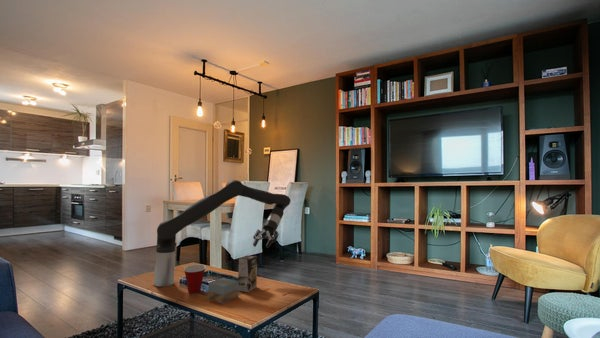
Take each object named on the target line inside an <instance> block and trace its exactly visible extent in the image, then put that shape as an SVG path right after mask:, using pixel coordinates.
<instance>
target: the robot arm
mask: <svg viewBox="0 0 600 338" xmlns="http://www.w3.org/2000/svg"><path fill="white" fill-rule="evenodd" d="M236 197H244V198H249V199H251V200H255V201H257V202H260V203H263V204H266V205H273V208H272V211H271V212H270V214H269V216H268V217H267V219H266V221H265V223H264V225H263V227H262V230H261V229H257V230H256V231H255V232H254V235H252V238H253V243H252V245H253V247H254V248H255V247H257V245H258V243H259V241H261V240H263V239H267V242H266V245H265V247H266V249H269V248H270V247H271V245H272V243H276V242H277V239H278V237H279V235H280V233H279V232H278V230H277V229H278V227H279V226H280V223H281V221H282V218H283V216H284V213H285V212H284V211H285V209H286V208H287V207H288V206H289V205H290V204H291V202H292V201H291V197H290V196H288V195H286V194H283V193H281V194H280V193H272V192H269V191H265V190H262V189H258V188H253V187H250V186H247V185H245V184H243V183H242V182H241V181H240V180H237V179H231V180H229V181H228V182H227V183H226V184H225V186H224V187H222V188H221V189H220V190H218V191H216V192H214V193H210V194H209V195H207V196H204V197H203V198H200V199H199V200H198V201H196V202H194V203H192V204H191V205H190V206H188V207H186V208H185V210H183V211H182V212H180V214H178V215H176V216H175V217H173V218H171V219H168V220H163V221H162V222H160V223H159V225H158V226H157V228H156V234H157V236H156V249H155V251H156V253H155V266H154V270H153V272H154V275H153V278H154V279H153V285H154V286H155V287H159V288H160V287H161V288H163V287H169V286H173V285H174V283H175V267H176V266H175V265H176V263H175V262H176V235H177V234H178V233H179V232H181V231H182V230H183V229H185V228H187V227H188V226H189V225H192V224H194V223H195V222H197V221H200V220H201V219H203V218H204V217H206V216H208V215H209V214H211V213H212V212H214V211H215V210H216V209H218V208H219V207H221V206H222V205H223V204H224V203H227V202H228V201H230V200H232V199H235V198H236Z"/></svg>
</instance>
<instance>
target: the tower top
mask: <svg viewBox="0 0 600 338" xmlns="http://www.w3.org/2000/svg"><path fill="white" fill-rule="evenodd" d="M207 289H208V291H207V293H208V292H212V293H216V294H220V295H226V294H229V293H231V292H233V291H236V290H238V280H234V279H229V278H225V277H222V278H221V277H220V278H219V279H215V280H213V281H210V282H208V288H207Z"/></svg>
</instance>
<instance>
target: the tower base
mask: <svg viewBox="0 0 600 338" xmlns="http://www.w3.org/2000/svg"><path fill="white" fill-rule="evenodd" d="M239 292H240V291H239V290H236V291H233V292H231V293H229V294H226V295H220V294H216V293H212V292H208V291H207V297H206V300H207V301H210V302H214V303H218V304H222V305H225V304H227V303H229V302H232V301H234V300H235V299H238V298H239Z"/></svg>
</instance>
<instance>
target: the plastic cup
mask: <svg viewBox="0 0 600 338" xmlns="http://www.w3.org/2000/svg"><path fill="white" fill-rule="evenodd" d="M206 268H207V266H206V265H205V264H199V263H198V264H191V265H187V266H185V267H184V268H183V269H182V270H183V271H184V275H185V280H186V286H187V292H188V293H189V294H197V293H200V292H201V289H202V284H203V282H204V281H203V280H204V275H205V270H206Z"/></svg>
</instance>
